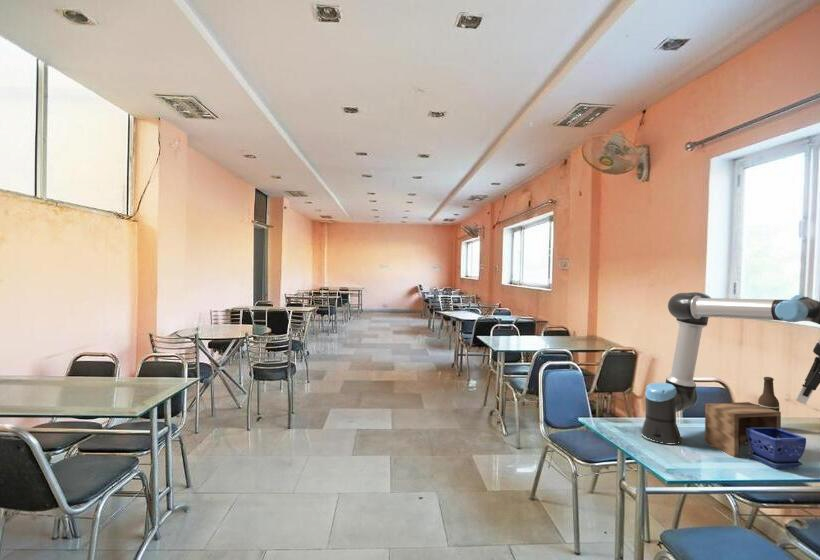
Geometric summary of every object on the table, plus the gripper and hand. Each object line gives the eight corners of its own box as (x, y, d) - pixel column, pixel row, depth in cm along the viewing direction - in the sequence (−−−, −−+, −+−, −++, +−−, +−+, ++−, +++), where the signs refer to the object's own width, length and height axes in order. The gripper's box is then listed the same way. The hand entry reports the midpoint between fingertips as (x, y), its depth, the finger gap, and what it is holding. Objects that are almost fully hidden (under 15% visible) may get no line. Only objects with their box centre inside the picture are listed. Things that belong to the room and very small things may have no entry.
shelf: (780, 454, 171) (780, 412, 171) (734, 457, 168) (734, 413, 168) (748, 441, 185) (748, 402, 185) (705, 443, 182) (705, 403, 182)
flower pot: (743, 457, 168) (743, 426, 168) (774, 455, 170) (774, 425, 170) (775, 472, 155) (775, 439, 155) (808, 470, 156) (808, 438, 156)
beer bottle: (784, 431, 197) (784, 379, 197) (767, 431, 198) (767, 379, 198) (770, 425, 205) (770, 375, 205) (753, 425, 205) (753, 375, 205)
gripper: (847, 357, 143) (814, 414, 151) (843, 345, 153) (812, 399, 161) (818, 348, 147) (788, 404, 156) (816, 336, 157) (787, 390, 165)
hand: (800, 401), depth 158 cm, fingers closed
